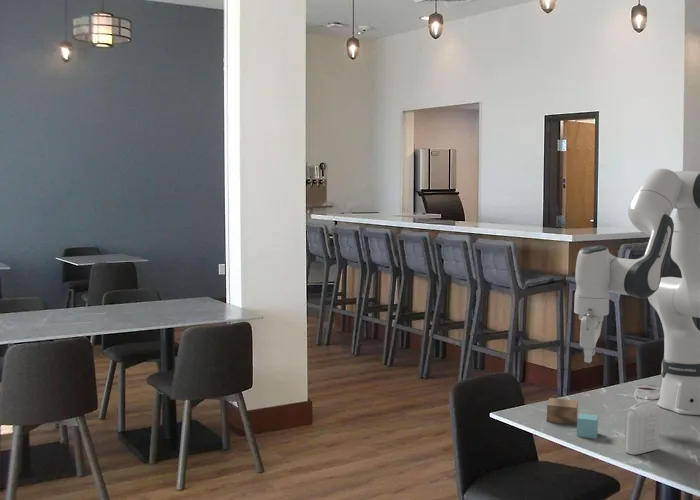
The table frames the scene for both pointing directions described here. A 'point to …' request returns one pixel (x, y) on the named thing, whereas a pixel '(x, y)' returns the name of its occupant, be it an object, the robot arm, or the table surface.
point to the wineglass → (646, 393)
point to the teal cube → (587, 425)
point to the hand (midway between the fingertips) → (589, 358)
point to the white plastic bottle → (642, 428)
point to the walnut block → (562, 411)
